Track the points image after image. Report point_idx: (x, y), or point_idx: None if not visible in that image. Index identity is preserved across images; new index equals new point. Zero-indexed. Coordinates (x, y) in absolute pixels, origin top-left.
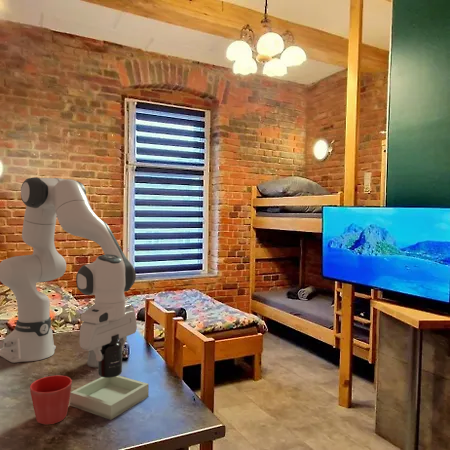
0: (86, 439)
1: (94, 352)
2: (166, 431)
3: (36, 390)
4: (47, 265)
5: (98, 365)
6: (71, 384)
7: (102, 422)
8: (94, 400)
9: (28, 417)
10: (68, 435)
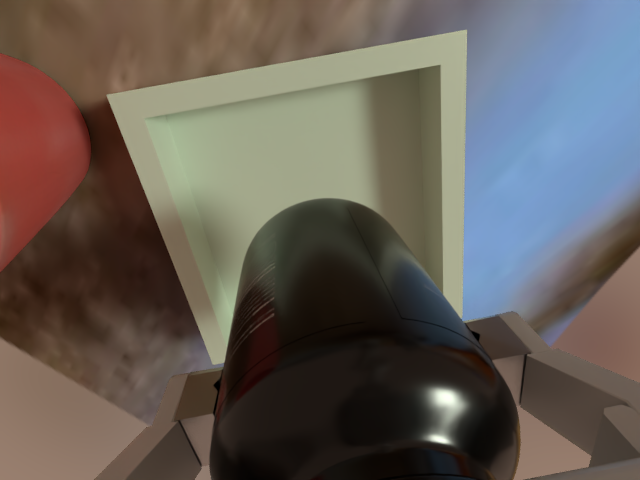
0: (96, 363)
1: (114, 461)
2: None
3: None
4: None
5: (242, 278)
6: (6, 259)
7: (190, 317)
8: (181, 282)
9: None
10: (47, 308)
